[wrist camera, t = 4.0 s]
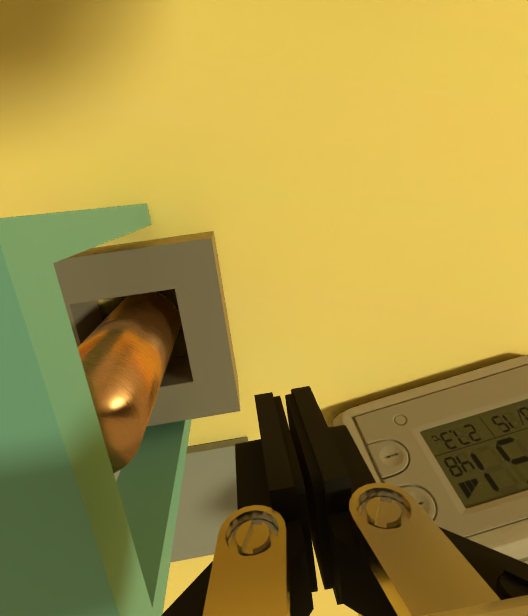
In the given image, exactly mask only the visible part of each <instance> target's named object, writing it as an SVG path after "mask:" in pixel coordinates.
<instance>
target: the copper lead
mask: <svg viewBox="0 0 528 616" xmlns="http://www.w3.org/2000/svg"><path fill="white" fill-rule="evenodd" d="M179 329H180V316H179V313H178V310H177V308H176V307H175V305H174V304H173V303H172V302H171V301H170V300H169V299H168V298H167V297H165V296H164V295H162V294H159V293H157V292H149V293H142V294H135V295H129V296H128V297H126V298H125V299H124V300H123V301H122V302H121V303H120V304H119V305H118V306H117V307H116V308H115V309H114V310H113V311H112V312H111V313H110V314H109V315H108V317H107V318H106V319H105V320H104V321H103V322H102V323H101V324H100V325H99V326H98V327H97V328H96V329H95V330H94V331H93V332H92V333H91V334H90V335H89V336H88V337H87V338H86V339H85V340H84V341H83V342H82V343H81V344H80V345H79V346H78V347H77V348H78V351H79V355H80V358H81V362H82V365H83V369H84V372H85V376H86V379H87V383H88V386H89V390H90V393H91V397H92V400H93V404H94V407H95V410H96V414H97V417H98V421H99V424H100V428H101V431H102V435H103V438H104V442H105V445H106V449H107V452H108V456H109V459H110V463H111V466H112V470H113V473H116V472H118V471H119V470H121V469H122V468H124V467H125V466H126V465H127V464H128V463H129V462H130V461H131V460H132V459H133V458H134V456H135V455H136V453H137V451H138V449H139V447H140V444H141V441H142V438H143V435H144V432H145V429H146V426H147V423H148V420H149V417H150V415H151V412H152V409H153V406H154V403H155V400H156V397H157V394H158V391H159V388H160V385H161V382H162V379H163V376H164V373H165V370H166V367H167V364H168V361H169V358H170V356H171V353H172V350H173V347H174V344H175V341H176V338H177V335H178V332H179Z"/></svg>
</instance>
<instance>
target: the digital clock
mask: <svg viewBox="0 0 528 616" xmlns="http://www.w3.org/2000/svg"><path fill="white" fill-rule="evenodd" d="M340 425H346V427H347V428H348V430H349V432H350V434H351V436H352V438H353V440H354V442H355V443H356V445H357V447H358V449H359V451H360V453H361V455H362V457H363V458H364V460H365V462H366V464H367V466H368V468H369V470H370V472H371V474H372V475H373V477H374V479H375V481H376V483H387V484H391V485H395V486H398V487H400V488H401V489H403V490H405V491H407V492H408V493H409V494H410V495H411V496H412V497H413V498H414V499H415V500H416V501H417V502H418V504H419V505H420V506H421V507H422V508H423V509H424V511H425V512H426V513H427V514H428V515H429V516H430V518H431V519H432V520H433V521H434V522H435V523H436V525H437V526H438V527H441V528H443V529H446V530H448V531H450V532H453V533H455V534H458V535H460V536H462V537H465V538H467V539H469V540H472V541H474V542H477V543H479V544H481V545H484V546H486V547H488V548H491V549H493V550H496V551H498V552H500V553H503V554H505V555H508V556H510V557H512V558H515V559H517V560H519V561H522V562H524V563H527V564H528V355H524V356H521V357H517V358H513V359H510V360H506V361H503V362H500V363H496V364H493V365H490V366H486V367H483V368H480V369H476V370H473V371H470V372H466V373H463V374H460V375H457V376H453V377H450V378H447V379H443V380H440V381H437V382H433V383H430V384H427V385H423V386H420V387H417V388H414V389H410V390H407V391H404V392H400V393H397V394H394V395H390V396H387V397H384V398H381V399H377V400H374V401H371V402H368V403H365V404H362V405H359V406H356V407H353V408H350V409H348V410H346V411H344V412H342V413H340V414H339V415H337V416H336V417H335V418H334V420H333V427H334V426H340Z"/></svg>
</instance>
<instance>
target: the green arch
mask: <svg viewBox="0 0 528 616" xmlns="http://www.w3.org/2000/svg"><path fill="white" fill-rule="evenodd" d="M149 225H151V220H150V215H149V211H148V206H147V204H137V205H127V206H117V207H107V208H97V209H87V210H77V211H67V212H57V213H47V214H37V215H27V216H17V217H7V218H0V616H161V615H162V614H163V608H164V601H165V594H166V587H167V581H168V574H169V567H170V560H171V554H172V547H173V540H174V533H175V527H176V520H177V513H178V506H179V500H180V493H181V486H182V479H183V473H184V466H185V459H186V452H187V446H188V439H189V432H190V425H191V419H189V420H183V421H177V422H171V423H165V424H159V425H153V426H147V427H146V429H145V432H144V435H143V438H142V441H141V444H140V447H139V449H138V451H137V453H136V455H135V456H134V458H133V459H132V460H131V461H130V462H129V463H128V464H127V465H126V466H125V467H124V468H122V469H121V470H120V473H119V476H118V478H117V481H116V480H115V477H114V473H113V470H112V466H111V463H110V459H109V456H108V452H107V449H106V445H105V442H104V438H103V435H102V431H101V428H100V424H99V421H98V417H97V414H96V410H95V407H94V404H93V400H92V397H91V393H90V390H89V386H88V383H87V379H86V376H85V372H84V369H83V365H82V362H81V358H80V355H79V351H78V348H77V344H76V341H75V337H74V334H73V330H72V327H71V323H70V320H69V317H68V313H67V310H66V306H65V303H64V299H63V296H62V292H61V289H60V285H59V282H58V278H57V275H56V271H55V268H54V264H53V263H55V262H58V261H60V260H63V259H65V258H68V257H70V256H73V255H75V254H78V253H81V252H83V251H86V250H88V249H91V248H93V247H96V246H98V245H101V244H103V243H106V242H108V241H111V240H114V239H116V238H119V237H121V236H124V235H126V234H129V233H131V232H134V231H136V230H139V229H141V228H144V227H147V226H149Z"/></svg>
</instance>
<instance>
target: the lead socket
mask: <svg viewBox="0 0 528 616" xmlns="http://www.w3.org/2000/svg"><path fill="white" fill-rule="evenodd" d="M53 264H54V268H55V271H56V275H57V278H58V282H59V285H60V289H61V292H62V296H63V299H64V303H65V306H66V310H67V313H68V317H69V320H70V323H71V327H72V330H73V334H74V337H75V341H76V344H77V347H78V346H79V345H80V344H81V343H82V342H83V341H84V340H85V339H86V338H87V337H88V336H89V335H90V334H91V333H92V332H93V331H94V330H95V329H96V328H97V327H98V326H99V325H100V324H101V323H102V322H103V318H102V315H101V311H100V307H99V303H98V300H101V299H108V298H115V297H122V296H128V295H135V294H142V293H149V292H155V291H162V290H169V289H175V292H176V297H177V302H178V307H179V312H180V317H181V322H182V327H183V332H184V337H185V342H186V347H187V352H188V356H182V357H176V358H170V359H169V361H168V364H167V367H166V370H165V373H164V376H163V379H162V382H161V385H160V388H159V391H158V394H157V397H156V400H155V403H154V406H153V409H152V412H151V415H150V417H149V420H148V423H147V426H153V425H159V424H165V423H171V422H177V421H183V420H189V419H195V418H201V417H207V416H213V415H219V414H225V413H231V412H237V411H240V401H239V388H238V377H237V371H236V365H235V359H234V353H233V347H232V341H231V335H230V329H229V322H228V316H227V310H226V304H225V298H224V292H223V286H222V280H221V274H220V268H219V261H218V255H217V249H216V243H215V237H214V231H212V232H205V233H198V234H191V235H183V236H176V237H169V238H162V239H155V240H148V241H141V242H133V243H126V244H119V245H112V246H105V247H98V248H91V249H88V250H86V251H83V252H81V253H78V254H75V255H73V256H70V257H68V258H65V259H63V260H60V261H58V262H55V263H53ZM147 426H146V427H147Z"/></svg>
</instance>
